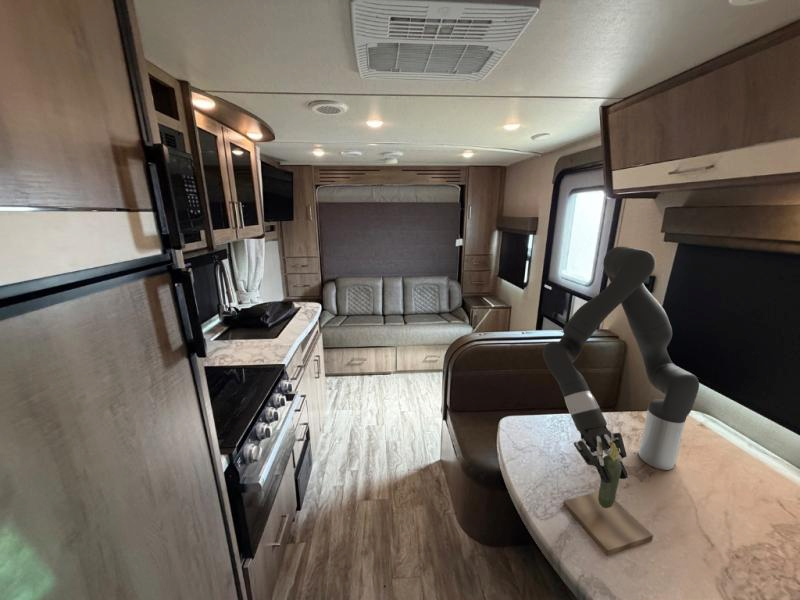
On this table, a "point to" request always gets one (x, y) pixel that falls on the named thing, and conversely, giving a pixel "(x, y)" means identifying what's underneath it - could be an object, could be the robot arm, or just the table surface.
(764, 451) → the table surface
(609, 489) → the vegetable
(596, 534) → the cutting board
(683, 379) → the robot arm
